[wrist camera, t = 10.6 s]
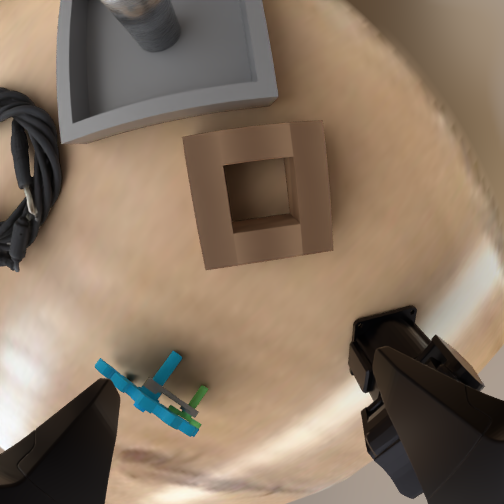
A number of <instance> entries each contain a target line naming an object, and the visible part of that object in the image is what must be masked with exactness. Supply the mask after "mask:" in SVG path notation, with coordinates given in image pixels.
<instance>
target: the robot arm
mask: <svg viewBox="0 0 504 504" xmlns="http://www.w3.org/2000/svg"><path fill="white" fill-rule="evenodd" d="M416 312H417V309H416V308H415V307H414V306H413V305H412V306H408V307H404V308H400V309H397V310H393V311H389V312H385V313H382V314H378V315H374V316H370V317H365V318H361V319H358V320H356V321H355V322H354V324H353V336H352V342H351V343H350V348H349V360H348V365H349V367H350V373H351V375H354V376H355V378H356V380H357V382H358V384H359V386H360V388H361V390H362V391H363V392H364V393H367V392H369V393H370V395H371V397H372V399H373V401H374V402H373V403H371V404H370V405H369V406H368V407H366V408H364V409H363V410H362V411H361V415H362V422H363V428H364V435H365V442H366V447H367V452H368V453H369V454H370V455H371V457H372V458H373V459H374V461H375V462H376V463H378V464H379V465H380V466H381V467H382V468H383V469H384V470H385V471H386V472H387V474H388V475H389V476H390V477H391V479H392V480H393V482H394V484H395V485H396V487H397V489H398V490H399V492H400V493H401V494H403V495H404V496H407V497H409V498H411V499H414V498H416V497H417V496H418V495H420V494H422V493H424V494H425V497H426V499H427V502H428V504H504V401H503V400H500V399H497V398H494V397H492V396H489V395H487V394H484V393H482V392H480V391H481V390H482V389H483V388H484V387H485V386H484V384H483V383H482V381H481V379H480V378H479V377H478V375H477V373H476V372H475V370H474V369H473V367H472V366H471V365H470V364H469V363H468V362H467V361H466V360H465V359H464V358H463V357H462V356H461V355H460V354H459V353H458V352H457V351H456V350H455V349H453V348H452V347H451V346H450V345H449V344H447V343H446V342H445V341H443V340H442V339H441V338H440V337H438V336H437V335H436V334H435V336H434V337H433V338H432V339H431V340H432V341H431V340H430V339H429V338H428V337H427V336H426V335H425V334H424V333H423V332H422V331H421V329H420V328H419V327H418V326H417V325H416V324H415V318H416ZM359 324H361V325H360V326H358V325H359ZM119 408H120V395H119V393H118V391H117V389H116V388H115V386H114V384H113V382H112V380H111V379H108V378H100V379H98V380H97V381H96V382H94V383H93V384H92V385H91V386H89V387H88V388H87V389H86V390H84V391H83V392H82V393H81V394H79V395H78V396H77V397H76V398H74V399H73V400H72V401H71V402H69V403H68V404H67V405H66V406H64V407H63V408H62V409H60V410H59V411H58V412H57V413H55V414H54V415H53V416H52V417H50V418H49V419H48V420H47V421H45V422H44V423H43V424H42V425H40V426H39V427H38V428H36V430H34V431H33V432H31V433H30V434H29V435H28V436H26V437H25V438H24V439H22V440H21V441H20V442H18V443H17V444H15V445H14V446H12V447H11V448H9V449H7V450H6V451H4V452H3V453H1V454H0V504H105V498H106V491H107V485H108V478H109V473H110V467H111V462H112V456H113V451H114V446H115V441H116V436H117V427H118V417H119Z"/></svg>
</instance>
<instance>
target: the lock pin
mask: <svg viewBox="0 0 504 504" xmlns="http://www.w3.org/2000/svg"><path fill="white" fill-rule="evenodd" d="M100 1H101V2H102V3H103V4H104V5H105V6H106V7H107V9H108V10H109V11H110V12H111V13H112V14H113V15H114V17H115V18H116V19H117V20H118V21H119V22H120V23H121V25H122V26H123V27H124V28H125V29H126V30H127V32H128V33H129V34H130V35H131V36H132V38H133V39H134V40H135V41H136V42H137V43H138V45H139V46H140V47H141V48H142V49H143V50H145V51H148V52H160V51H164V50H166V49H168V48H170V47H171V46H172V45H174V44H175V43H176V42H177V40H178V39H179V37H180V34H181V27H180V24H179V21H178V18H177V16H176V13H175V10H174V8H173V5H172V3H171V0H100Z"/></svg>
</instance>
